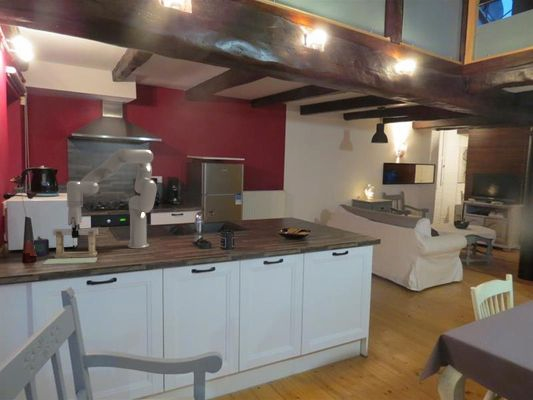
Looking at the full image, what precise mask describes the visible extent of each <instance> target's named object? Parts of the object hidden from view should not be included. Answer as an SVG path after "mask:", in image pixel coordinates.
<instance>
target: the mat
mask: <svg viewBox="0 0 533 400" xmlns="http://www.w3.org/2000/svg"><path fill="white" fill-rule="evenodd" d="M97 258H98V257H96V256H95V257H72V258H47V259H46V260H45V261H44V262H43V263H41V264H42V266H49V265H51V266H53V265H56V266H57V265H80V264H81V265H82V264H83V265H84V263H85V264H95V263H96V261H97V260H98V259H97Z"/></svg>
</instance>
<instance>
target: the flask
mask: <svg viewBox="0 0 533 400" xmlns="http://www.w3.org/2000/svg"><path fill="white" fill-rule="evenodd" d="M33 240H34V245H35V252H36V255H37V257H45V256H46V257H47V256H50V242H49V241H50V240H49V238H46V237H45V238H42V237H41V236H40V235H39V236H37V237H36V239H33Z"/></svg>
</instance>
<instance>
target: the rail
mask: <svg viewBox="0 0 533 400" xmlns="http://www.w3.org/2000/svg"><path fill="white" fill-rule="evenodd" d="M89 231H93V235H95V236H97V235H99V228H94V227H92V228H91V227H90V228H88V227H87V228H80V229H78V235H80V236H88V232H89ZM56 232H61V235H64V236H72V228H54V229H52V236H54V237H56Z"/></svg>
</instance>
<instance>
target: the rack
mask: <svg viewBox="0 0 533 400" xmlns="http://www.w3.org/2000/svg"><path fill="white" fill-rule="evenodd" d="M64 236H65V235H61V232H56V236H55V248H56V249H55V251H56V253H55V255H54V259H66V258H71V257H72V258H96V256H97V255H98V251H96V235H93V231H89V232H88V235H87V236H88V237H87V238H88V251H68V252H67V251H65V242H64V241H65V240H64V238H65V237H64Z"/></svg>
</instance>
